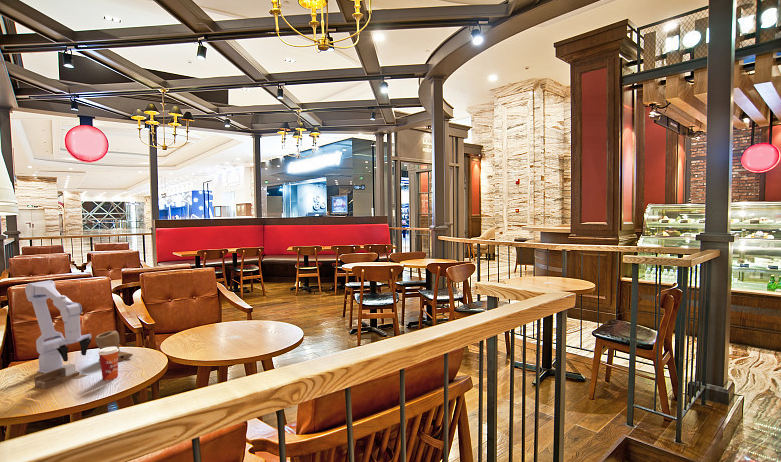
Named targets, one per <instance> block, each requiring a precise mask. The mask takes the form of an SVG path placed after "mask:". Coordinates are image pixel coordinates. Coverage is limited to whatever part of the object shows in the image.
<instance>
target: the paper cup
mask: <svg viewBox="0 0 781 462" xmlns="http://www.w3.org/2000/svg"><path fill="white" fill-rule="evenodd" d="M119 350H120V348H119V349H118V348H117V347H107V348H103V349H101V350H100V349H99V351H98V353H97V355H99V363H100V364H99V365H100V369H101V376H102V377H101V378H102V381H112V380H114V379H116V378H117V377H118V376H119V361H118V351H119Z"/></svg>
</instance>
